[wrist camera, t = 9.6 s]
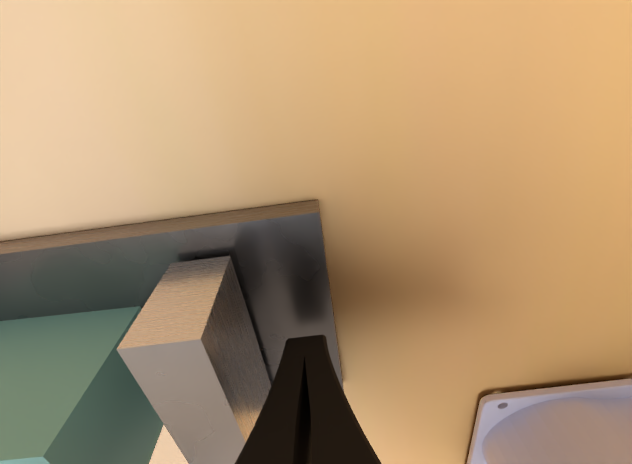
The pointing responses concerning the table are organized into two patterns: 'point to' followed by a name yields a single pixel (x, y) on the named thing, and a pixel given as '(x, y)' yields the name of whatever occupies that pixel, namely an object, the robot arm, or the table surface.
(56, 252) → the vise
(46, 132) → the table surface
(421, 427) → the table surface
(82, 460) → the block
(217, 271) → the jaw
